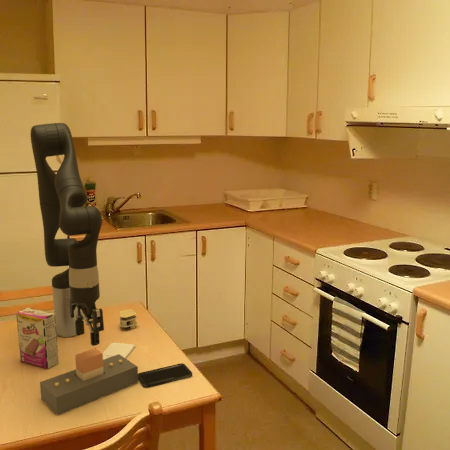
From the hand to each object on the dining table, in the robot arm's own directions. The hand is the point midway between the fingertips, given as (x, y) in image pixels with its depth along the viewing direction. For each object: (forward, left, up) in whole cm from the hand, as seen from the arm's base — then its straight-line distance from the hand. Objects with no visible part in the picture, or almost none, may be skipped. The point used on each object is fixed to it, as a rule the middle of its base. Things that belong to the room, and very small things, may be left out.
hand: (87, 339), depth 139 cm
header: (0, 0, -15) cm, 15 cm away
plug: (0, 0, -15) cm, 15 cm away
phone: (+7, +20, -16) cm, 26 cm away
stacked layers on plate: (-30, +30, -16) cm, 46 cm away
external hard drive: (-14, +16, -16) cm, 27 cm away
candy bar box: (-25, -4, -16) cm, 30 cm away
